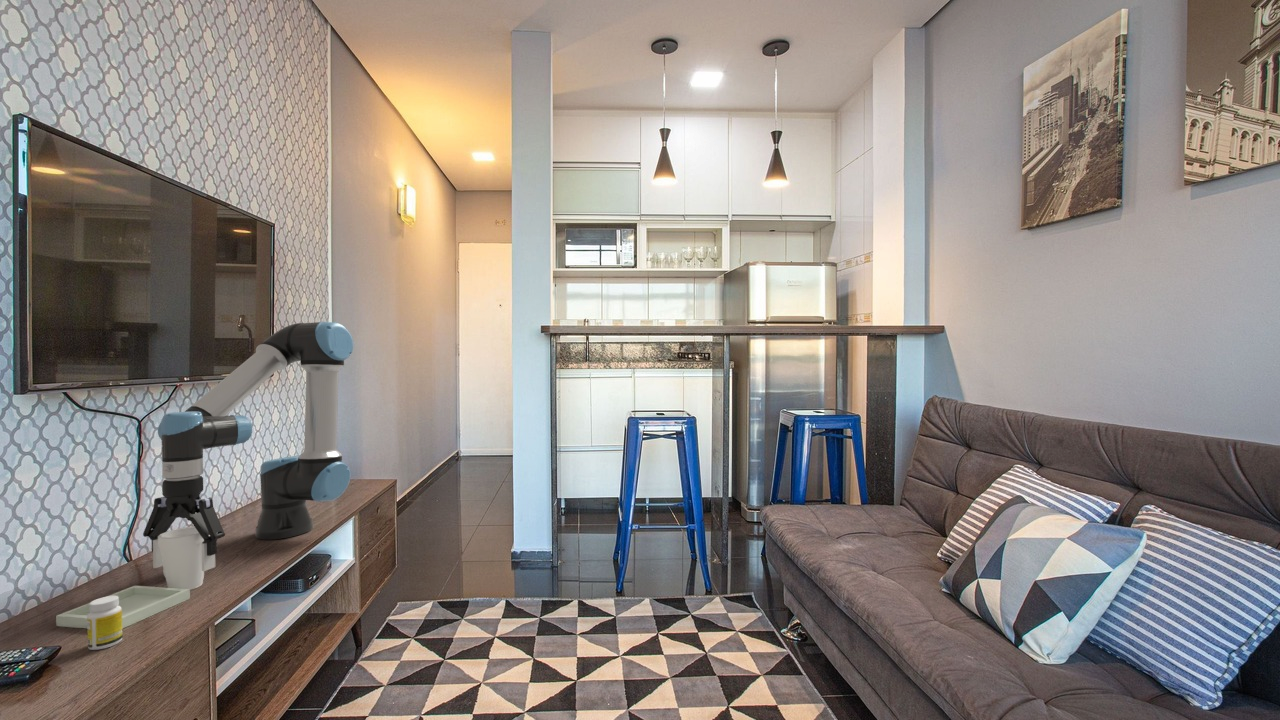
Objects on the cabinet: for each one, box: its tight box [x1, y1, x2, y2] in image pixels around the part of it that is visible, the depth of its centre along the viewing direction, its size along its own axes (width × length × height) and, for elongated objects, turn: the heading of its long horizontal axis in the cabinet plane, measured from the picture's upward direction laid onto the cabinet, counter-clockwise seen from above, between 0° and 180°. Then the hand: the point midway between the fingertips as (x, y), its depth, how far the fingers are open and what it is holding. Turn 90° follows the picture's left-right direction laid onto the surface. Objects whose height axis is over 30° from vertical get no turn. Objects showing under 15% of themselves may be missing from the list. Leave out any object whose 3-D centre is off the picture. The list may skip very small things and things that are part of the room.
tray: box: [55, 585, 191, 630], centre depth 120 cm, size 15×15×2 cm
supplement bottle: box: [87, 595, 124, 651], centre depth 106 cm, size 5×5×8 cm
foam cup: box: [158, 525, 210, 591], centre depth 133 cm, size 10×9×13 cm
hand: (184, 567), depth 132 cm, fingers open, 13 cm apart
